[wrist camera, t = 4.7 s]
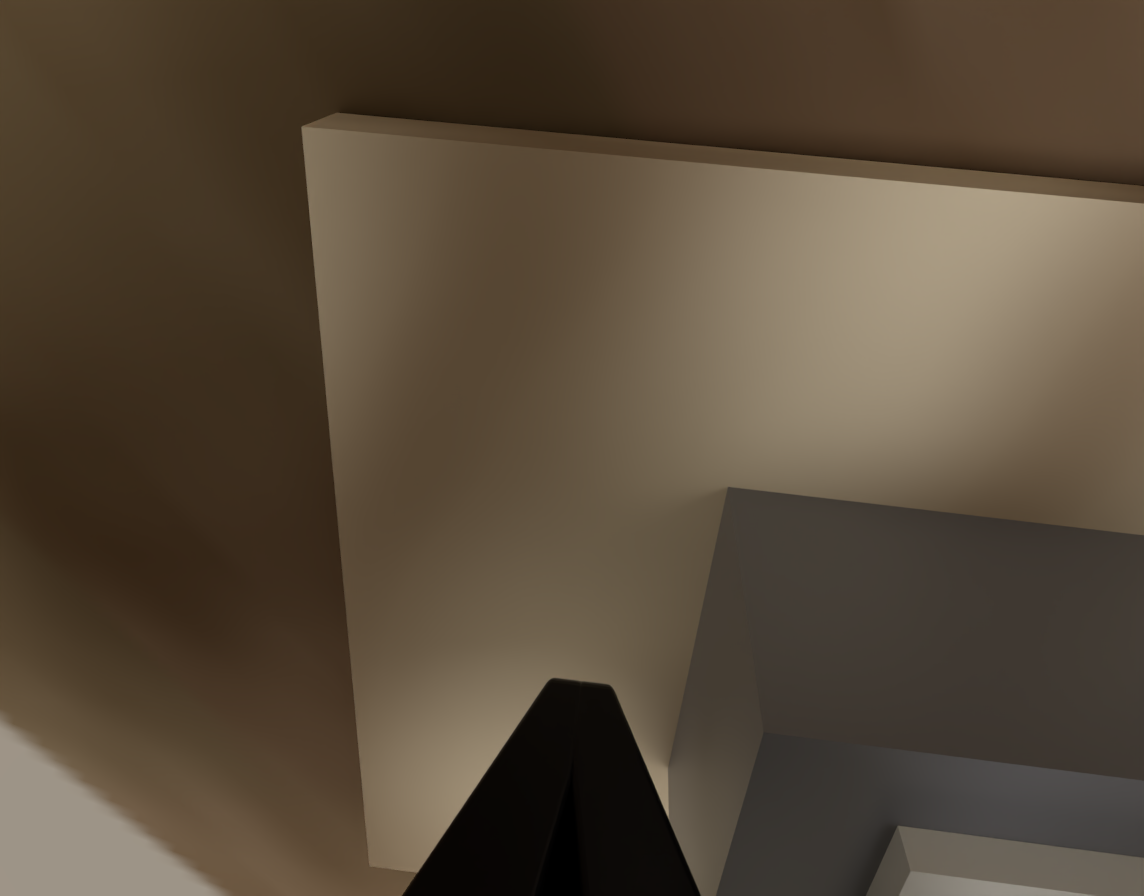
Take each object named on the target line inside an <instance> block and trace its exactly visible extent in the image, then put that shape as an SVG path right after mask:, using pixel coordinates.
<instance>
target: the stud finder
mask: <svg viewBox="0 0 1144 896" xmlns="http://www.w3.org/2000/svg"><path fill="white" fill-rule="evenodd" d="M668 801H669V821H670V823H671V826H672V828H673V830H674V833H675V835H676V838H677V840H678V842H679V845H680V847H681V849H682V852H683V854H684V857H685V859H686V861H687V864H688V866H689V868H690V871H691V873H692V876H693V878H694V880H695V883H696V885H697V887H698V890H699V892H700V895H701V896H1144V535H1137V534H1128V533H1120V532H1111V531H1103V530H1094V529H1085V528H1077V527H1068V526H1060V525H1051V524H1042V523H1034V522H1025V521H1017V520H1008V519H1000V518H991V517H982V516H974V515H965V514H957V513H948V512H940V511H931V510H922V509H914V508H905V507H897V506H888V505H879V504H871V503H862V502H854V501H845V500H837V499H828V498H819V497H811V496H802V495H794V494H785V493H777V492H768V491H759V490H751V489H742V488H734V487H728V488H727V493H726V498H725V503H724V507H723V512H722V517H721V521H720V526H719V531H718V536H717V540H716V545H715V550H714V554H713V559H712V564H711V568H710V573H709V578H708V583H707V587H706V592H705V597H704V601H703V606H702V611H701V615H700V620H699V625H698V630H697V634H696V639H695V644H694V648H693V653H692V658H691V663H690V667H689V672H688V677H687V681H686V686H685V691H684V695H683V700H682V705H681V710H680V714H679V719H678V724H677V728H676V733H675V738H674V742H673V747H672V752H671V757H670V761H669V766H668Z"/></svg>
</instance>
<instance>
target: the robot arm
mask: <svg viewBox="0 0 1144 896" xmlns="http://www.w3.org/2000/svg"><path fill="white" fill-rule="evenodd" d="M402 896H701V895H700V892H699V890H698V887H697V885H696V883H695V880H694V878H693V876H692V873H691V871H690V868H689V866H688V864H687V861H686V859H685V857H684V854H683V852H682V849H681V847H680V845H679V842H678V840H677V838H676V835H675V833H674V830H673V828H672V826H671V823H670V821H669V819H668V816H667V814H666V811H665V809H664V807H663V804H662V802H661V800H660V797H659V795H658V792H657V790H656V788H655V785H654V783H653V781H652V778H651V776H650V773H649V771H648V769H647V766H646V764H645V762H644V759H643V757H642V754H641V752H640V750H639V747H638V745H637V743H636V740H635V738H634V735H633V733H632V731H631V728H630V726H629V724H628V721H627V719H626V716H625V714H624V712H623V709H622V707H621V705H620V702H619V700H618V697H617V695H616V693H615V691H614V689H613V687H612V686H610V685H609V684H603V683H595V682H586V681H578V680H570V679H562V678H551V679H550V680H549V681H548V682H547V683H546V684H545V685H544V687H543V688H542V690H541V691H540V693H539V694H538V696H537V697H536V699H535V700H534V702H533V703H532V705H531V706H530V708H529V709H528V711H527V712H526V713H525V715H524V716H523V718H522V719H521V721H520V722H519V724H518V725H517V727H516V728H515V730H514V731H513V733H512V734H511V736H510V737H509V739H508V740H507V741H506V743H505V744H504V746H503V747H502V749H501V750H500V752H499V753H498V755H497V756H496V758H495V759H494V761H493V762H492V764H491V765H490V767H489V768H488V770H487V771H486V772H485V774H484V775H483V777H482V778H481V780H480V781H479V783H478V784H477V786H476V787H475V789H474V790H473V792H472V793H471V795H470V796H469V798H468V799H467V801H466V802H465V803H464V805H463V806H462V808H461V809H460V811H459V812H458V814H457V815H456V817H455V818H454V820H453V821H452V823H451V824H450V826H449V827H448V829H447V830H446V832H445V833H444V834H443V836H442V837H441V839H440V840H439V842H438V843H437V845H436V846H435V848H434V849H433V851H432V852H431V854H430V855H429V857H428V858H427V860H426V861H425V862H424V864H423V865H422V867H421V868H420V870H419V871H418V873H417V874H416V876H415V877H414V879H413V880H412V882H411V883H410V885H409V886H408V888H407V889H406V891H405V892H404V893H403V895H402Z"/></svg>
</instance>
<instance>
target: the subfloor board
mask: <svg viewBox="0 0 1144 896" xmlns="http://www.w3.org/2000/svg"><path fill="white" fill-rule="evenodd" d="M301 127H302V138H303V149H304V160H305V171H306V182H307V193H308V204H309V215H310V226H311V236H312V247H313V258H314V269H315V280H316V291H317V302H318V313H319V324H320V334H321V345H322V356H323V367H324V378H325V389H326V400H327V411H328V422H329V433H330V443H331V454H332V465H333V476H334V487H335V498H336V509H337V520H338V531H339V542H340V552H341V563H342V574H343V585H344V596H345V607H346V618H347V629H348V640H349V650H350V661H351V672H352V683H353V694H354V705H355V716H356V727H357V738H358V749H359V759H360V770H361V781H362V792H363V803H364V814H365V825H366V836H367V847H368V857H369V866H370V867H378V868H386V869H393V870H401V871H409V872H416V873H418V871H419V870H420V868H421V867H422V865H423V864H424V862H425V861H426V860H427V858H428V857H429V855H430V854H431V852H432V851H433V849H434V848H435V846H436V845H437V843H438V842H439V840H440V839H441V837H442V836H443V834H444V833H445V832H446V830H447V829H448V827H449V826H450V824H451V823H452V821H453V820H454V818H455V817H456V815H457V814H458V812H459V811H460V809H461V808H462V806H463V805H464V803H465V802H466V801H467V799H468V798H469V796H470V795H471V793H472V792H473V790H474V789H475V787H476V786H477V784H478V783H479V781H480V780H481V778H482V777H483V775H484V774H485V772H486V771H487V770H488V768H489V767H490V765H491V764H492V762H493V761H494V759H495V758H496V756H497V755H498V753H499V752H500V750H501V749H502V747H503V746H504V744H505V743H506V741H507V740H508V739H509V737H510V736H511V734H512V733H513V731H514V730H515V728H516V727H517V725H518V724H519V722H520V721H521V719H522V718H523V716H524V715H525V713H526V712H527V711H528V709H529V708H530V706H531V705H532V703H533V702H534V700H535V699H536V697H537V696H538V694H539V693H540V691H541V690H542V688H543V687H544V685H545V684H546V683H547V682H548V681H549V680H550V679H551V678H562V679H570V680H578V681H586V682H595V683H603V684H609V685H610V686H612V687H613V689H614V691H615V693H616V695H617V697H618V700H619V702H620V705H621V707H622V709H623V712H624V714H625V716H626V719H627V721H628V724H629V726H630V728H631V731H632V733H633V735H634V738H635V740H636V743H637V745H638V747H639V750H640V752H641V754H642V757H643V759H644V762H645V764H646V766H647V769H648V771H649V773H650V776H651V778H652V781H653V783H654V785H655V788H656V790H657V792H658V795H659V797H660V800H661V802H662V804H663V807H664V809H665V811H666V814H667V816H668V819H669V801H668V766H669V761H670V757H671V752H672V747H673V742H674V738H675V733H676V728H677V724H678V719H679V714H680V710H681V705H682V700H683V695H684V691H685V686H686V681H687V677H688V672H689V667H690V663H691V658H692V653H693V648H694V644H695V639H696V634H697V630H698V625H699V620H700V615H701V611H702V606H703V601H704V597H705V592H706V587H707V583H708V578H709V573H710V568H711V564H712V559H713V554H714V550H715V545H716V540H717V536H718V531H719V526H720V521H721V517H722V512H723V507H724V503H725V498H726V493H727V488H728V487H734V488H742V489H751V490H759V491H768V492H777V493H785V494H794V495H802V496H811V497H819V498H828V499H837V500H845V501H854V502H862V503H871V504H879V505H888V506H897V507H905V508H914V509H922V510H931V511H940V512H948V513H957V514H965V515H974V516H982V517H991V518H1000V519H1008V520H1017V521H1025V522H1034V523H1042V524H1051V525H1060V526H1068V527H1077V528H1085V529H1094V530H1103V531H1111V532H1120V533H1128V534H1137V535H1144V186H1139V185H1128V184H1117V183H1106V182H1095V181H1084V180H1073V179H1062V178H1051V177H1040V176H1029V175H1018V174H1007V173H996V172H985V171H974V170H963V169H952V168H941V167H930V166H919V165H908V164H897V163H886V162H875V161H864V160H853V159H842V158H831V157H820V156H809V155H798V154H787V153H775V152H764V151H753V150H742V149H731V148H720V147H709V146H698V145H687V144H676V143H665V142H654V141H643V140H632V139H621V138H610V137H599V136H588V135H577V134H566V133H555V132H544V131H533V130H522V129H511V128H500V127H489V126H478V125H467V124H456V123H445V122H434V121H423V120H412V119H401V118H390V117H379V116H368V115H356V114H345V113H335V114H332V115H329V116H327V117H324V118H322V119H319V120H317V121H314V122H312V123H309V124H307V125H304V126H301Z"/></svg>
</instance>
